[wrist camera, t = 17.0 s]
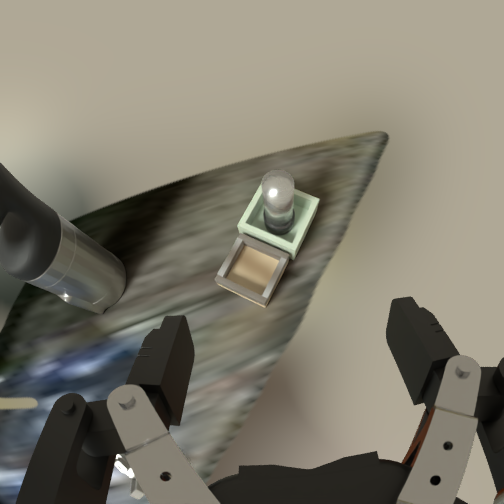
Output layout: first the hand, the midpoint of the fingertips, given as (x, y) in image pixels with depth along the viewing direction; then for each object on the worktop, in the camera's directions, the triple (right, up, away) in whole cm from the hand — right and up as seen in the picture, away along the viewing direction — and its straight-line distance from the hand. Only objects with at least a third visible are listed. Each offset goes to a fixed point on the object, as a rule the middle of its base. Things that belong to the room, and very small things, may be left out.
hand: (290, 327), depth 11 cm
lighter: (-18, -29, +24) cm, 42 cm away
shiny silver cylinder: (+3, +7, +34) cm, 35 cm away
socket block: (-1, 0, +33) cm, 33 cm away
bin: (+3, +7, +35) cm, 36 cm away
